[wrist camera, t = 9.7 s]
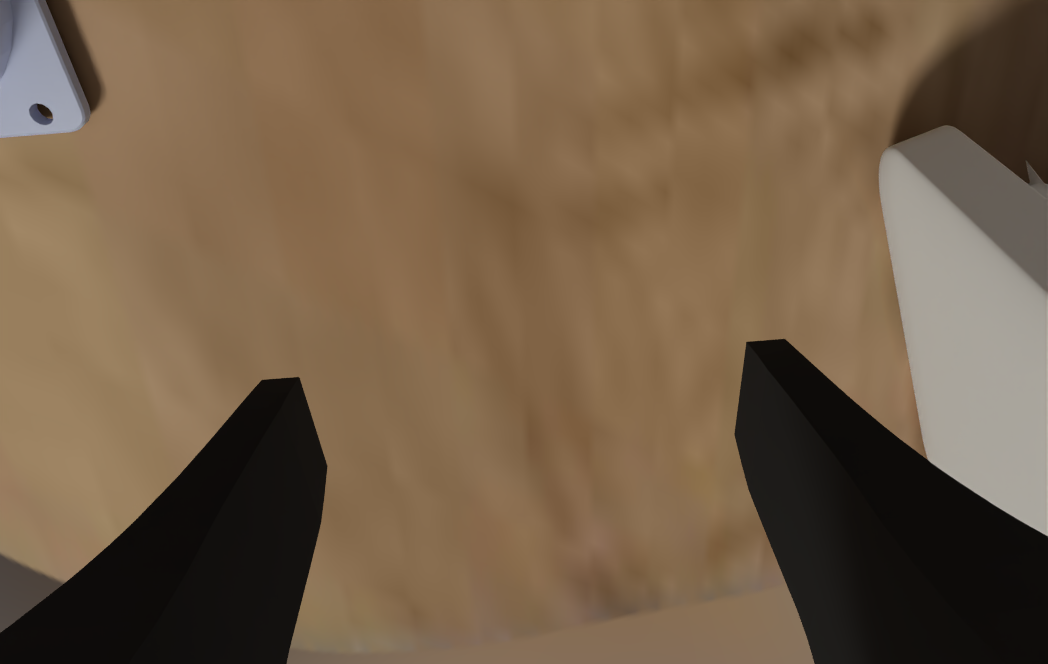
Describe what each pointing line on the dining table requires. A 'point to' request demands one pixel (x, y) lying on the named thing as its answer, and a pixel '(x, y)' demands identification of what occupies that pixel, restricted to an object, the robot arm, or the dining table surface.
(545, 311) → the dining table surface
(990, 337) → the cable organizer
